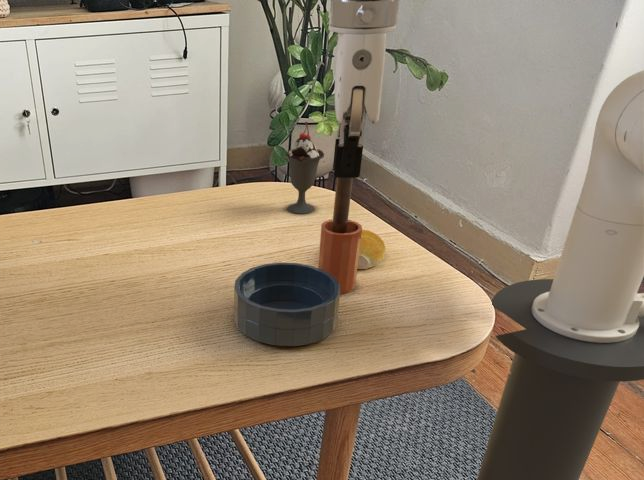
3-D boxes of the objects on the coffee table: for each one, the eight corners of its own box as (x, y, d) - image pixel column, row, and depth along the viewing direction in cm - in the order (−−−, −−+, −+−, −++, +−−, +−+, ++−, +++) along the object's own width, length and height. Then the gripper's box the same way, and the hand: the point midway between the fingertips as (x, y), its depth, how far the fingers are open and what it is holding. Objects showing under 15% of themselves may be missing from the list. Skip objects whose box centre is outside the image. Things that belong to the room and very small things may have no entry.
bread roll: (386, 248, 102) (389, 225, 100) (379, 273, 95) (382, 248, 93) (333, 242, 105) (336, 219, 103) (323, 266, 98) (325, 241, 96)
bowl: (333, 299, 89) (337, 264, 86) (338, 352, 79) (342, 314, 76) (238, 296, 91) (238, 261, 88) (230, 347, 81) (230, 309, 78)
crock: (353, 276, 95) (360, 219, 90) (356, 294, 90) (363, 235, 85) (316, 275, 96) (320, 218, 91) (316, 293, 91) (321, 234, 86)
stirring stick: (344, 243, 90) (357, 127, 81) (345, 250, 89) (358, 131, 80) (329, 243, 91) (341, 127, 82) (330, 249, 89) (342, 131, 80)
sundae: (305, 199, 121) (311, 117, 113) (326, 211, 116) (334, 126, 108) (275, 206, 119) (278, 123, 111) (295, 218, 114) (300, 132, 105)
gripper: (406, 24, 67) (381, 196, 77) (389, 6, 80) (370, 155, 90) (332, 25, 68) (317, 194, 78) (327, 7, 81) (315, 154, 91)
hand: (345, 172), depth 84 cm, fingers closed on stirring stick, 2 cm apart
